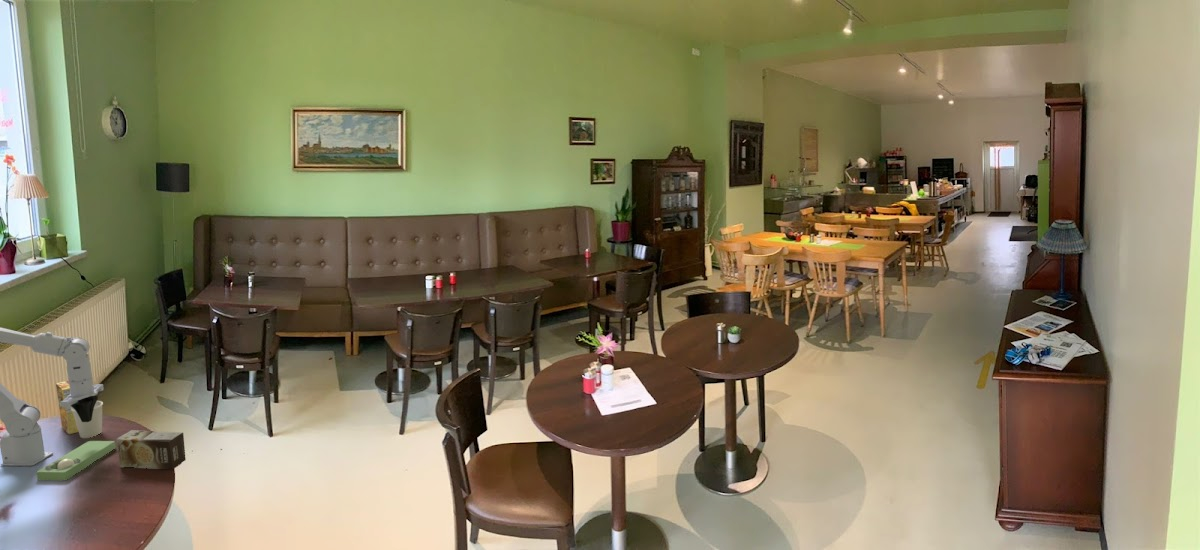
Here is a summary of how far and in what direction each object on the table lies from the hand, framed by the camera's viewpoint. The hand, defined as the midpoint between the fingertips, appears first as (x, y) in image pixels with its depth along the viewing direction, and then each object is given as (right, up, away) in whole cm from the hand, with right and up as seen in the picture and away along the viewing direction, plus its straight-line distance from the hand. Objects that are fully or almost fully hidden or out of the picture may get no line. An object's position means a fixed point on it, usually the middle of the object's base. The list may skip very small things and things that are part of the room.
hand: (86, 421), depth 208 cm
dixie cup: (-8, -7, +13) cm, 17 cm away
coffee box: (+17, -7, -7) cm, 19 cm away
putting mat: (+3, -11, -7) cm, 13 cm away
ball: (+4, -10, -13) cm, 17 cm away
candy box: (-17, -6, +17) cm, 25 cm away
